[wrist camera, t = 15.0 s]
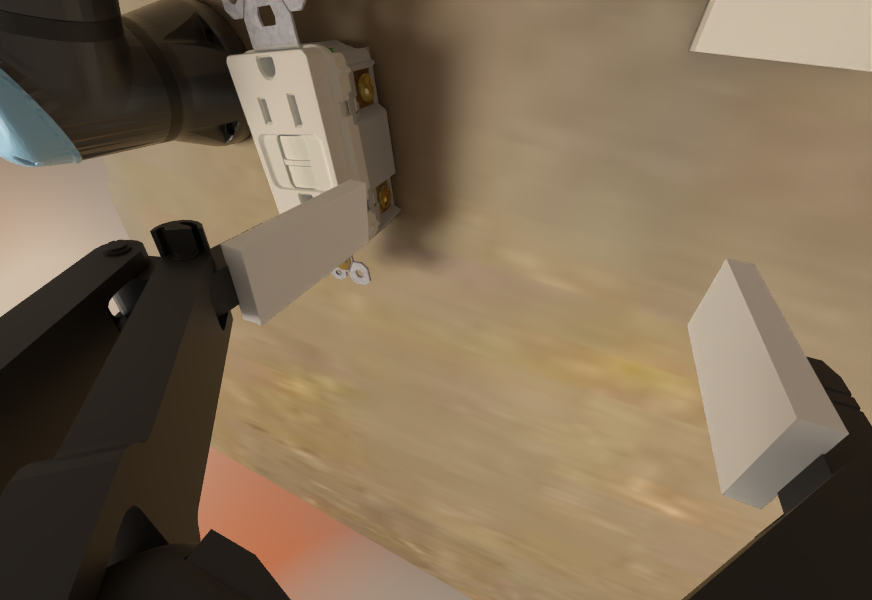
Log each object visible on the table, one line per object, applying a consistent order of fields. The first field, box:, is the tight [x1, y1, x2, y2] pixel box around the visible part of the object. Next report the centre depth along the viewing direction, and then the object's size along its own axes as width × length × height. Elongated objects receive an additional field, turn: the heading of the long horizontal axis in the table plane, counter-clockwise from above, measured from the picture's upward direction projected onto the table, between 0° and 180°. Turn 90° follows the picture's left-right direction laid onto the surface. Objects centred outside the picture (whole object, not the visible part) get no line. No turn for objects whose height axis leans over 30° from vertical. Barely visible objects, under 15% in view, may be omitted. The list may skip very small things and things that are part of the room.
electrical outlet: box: [222, 0, 401, 285], centre depth 39 cm, size 12×28×10 cm, turn 3°
